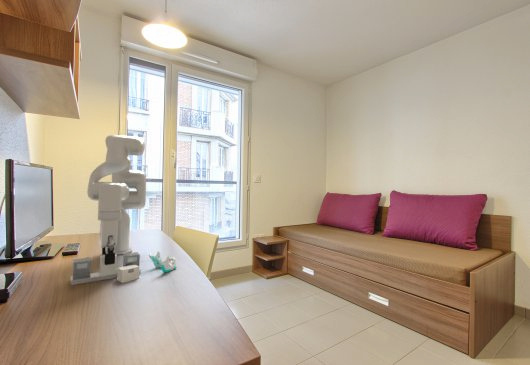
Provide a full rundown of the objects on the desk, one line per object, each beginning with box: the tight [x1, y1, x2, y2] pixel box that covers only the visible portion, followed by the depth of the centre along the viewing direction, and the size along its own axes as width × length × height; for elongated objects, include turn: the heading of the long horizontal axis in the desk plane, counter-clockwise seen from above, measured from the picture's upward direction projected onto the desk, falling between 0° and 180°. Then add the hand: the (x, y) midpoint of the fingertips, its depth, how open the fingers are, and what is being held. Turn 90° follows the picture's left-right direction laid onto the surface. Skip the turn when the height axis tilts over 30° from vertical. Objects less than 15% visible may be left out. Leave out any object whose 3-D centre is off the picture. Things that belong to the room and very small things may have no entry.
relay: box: [116, 265, 140, 284], centre depth 97 cm, size 4×6×4 cm
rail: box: [70, 251, 142, 286], centre depth 98 cm, size 5×22×8 cm, turn 127°
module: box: [99, 254, 118, 276], centre depth 98 cm, size 5×5×6 cm
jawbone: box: [148, 251, 177, 274], centre depth 110 cm, size 12×8×9 cm, turn 45°
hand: (108, 260), depth 99 cm, fingers open, 9 cm apart
